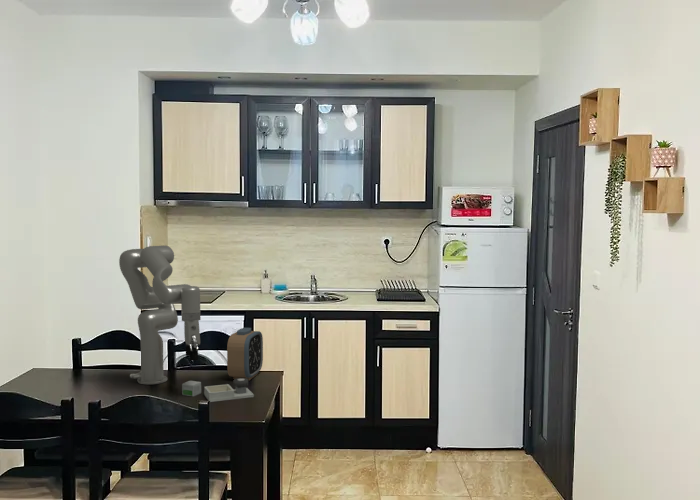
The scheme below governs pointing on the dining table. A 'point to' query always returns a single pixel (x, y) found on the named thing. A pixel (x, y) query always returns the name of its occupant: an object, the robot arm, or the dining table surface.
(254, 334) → the alarm clock
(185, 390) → the small box
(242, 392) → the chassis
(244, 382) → the wheel
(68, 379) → the dining table surface
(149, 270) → the robot arm
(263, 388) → the dining table surface
